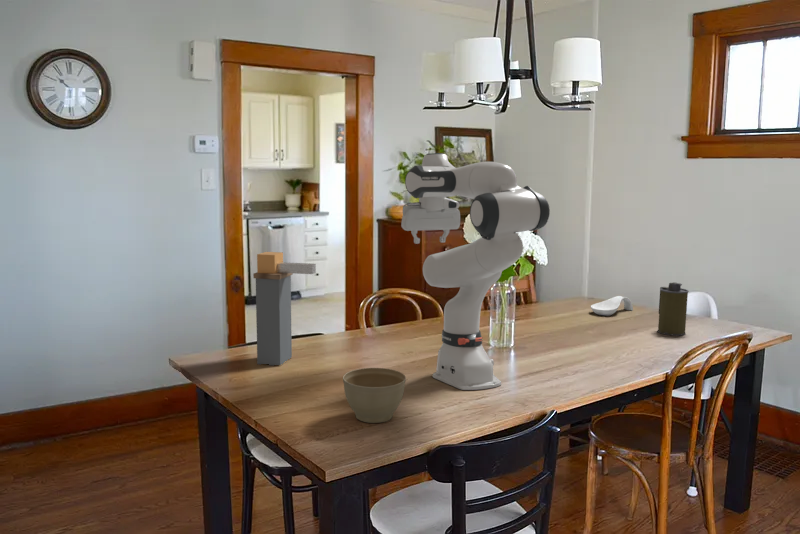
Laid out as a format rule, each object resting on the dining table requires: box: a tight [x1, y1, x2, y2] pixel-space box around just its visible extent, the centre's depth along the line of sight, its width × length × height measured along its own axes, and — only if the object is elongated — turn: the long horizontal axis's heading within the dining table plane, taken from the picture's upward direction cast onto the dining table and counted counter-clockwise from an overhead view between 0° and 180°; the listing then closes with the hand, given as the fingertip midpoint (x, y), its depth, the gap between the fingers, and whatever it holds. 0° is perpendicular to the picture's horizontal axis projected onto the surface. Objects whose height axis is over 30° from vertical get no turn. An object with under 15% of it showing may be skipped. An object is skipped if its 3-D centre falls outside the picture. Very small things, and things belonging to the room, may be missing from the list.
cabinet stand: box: [252, 272, 294, 366], centre depth 227 cm, size 9×11×30 cm
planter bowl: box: [342, 367, 407, 424], centre depth 178 cm, size 16×16×11 cm
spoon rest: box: [590, 295, 634, 317], centre depth 312 cm, size 24×12×7 cm, turn 126°
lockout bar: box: [256, 251, 317, 275], centre depth 224 cm, size 18×7×6 cm, turn 77°
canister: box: [657, 282, 689, 337], centre depth 274 cm, size 11×10×20 cm
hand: (429, 242), depth 232 cm, fingers open, 8 cm apart
